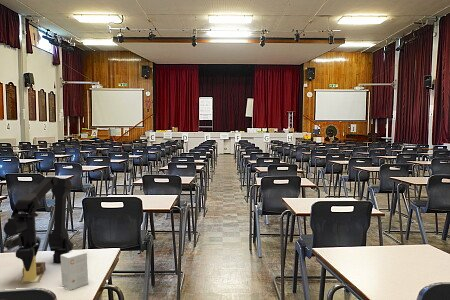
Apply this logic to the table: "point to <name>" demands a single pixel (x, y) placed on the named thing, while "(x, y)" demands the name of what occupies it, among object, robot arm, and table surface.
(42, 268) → the pocket
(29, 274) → the block
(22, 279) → the board
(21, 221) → the robot arm
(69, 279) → the small box
